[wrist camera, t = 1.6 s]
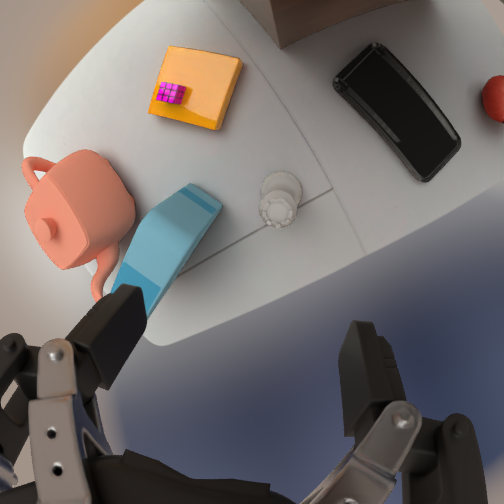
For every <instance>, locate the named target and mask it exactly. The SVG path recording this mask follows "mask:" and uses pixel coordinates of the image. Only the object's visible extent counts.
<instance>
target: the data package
mask: <svg viewBox="0 0 504 504" xmlns="http://www.w3.org/2000/svg"><path fill="white" fill-rule="evenodd" d="M222 207H223V205H222V204H221V203H220V202H218V201H217V200H216V199H214V198H213V197H211V196H210V195H208V194H207V193H205V192H204V191H202V190H201V189H200V188H198V187H197V186H195V185H194V184H192V183H190V184H188V185H187V186H185V187H183V188H182V189H180V190H179V191H177V192H176V193H174V194H173V195H171V196H170V197H169V198H167V199H166V200H164V201H163V202H161V203H160V204H158V205H157V206H155V207H154V208H153V209H151V210H150V211H149V212H148V213H147V215H146V216H145V217H144V218H143V220H142V221H141V223H140V225H139V226H138V228H137V230H136V233H135V235H134V237H133V239H132V241H131V244H130V246H129V248H128V251H127V253H126V255H125V257H124V260H123V262H122V265H121V267H120V269H119V272H118V274H117V277H116V279H115V282H114V284H113V287H112V290H111V292H110V293H114V292H115V290H116V289H117V288H118V287H119V286H120V285H121V284H123V283H125V284H129V285H134V286H139V287H141V288H142V291H143V296H144V302H145V308H146V314H147V320H148V318H149V317H150V315H151V314H152V312H153V311H154V309H155V308H156V306H157V305H158V303H159V302H160V300H161V299H162V297H163V296H164V294H165V293H166V291H167V290H168V288H169V287H170V286H171V284H172V283H173V281H174V280H175V278H176V277H177V275H178V274H179V272H180V271H181V269H182V268H183V266H184V265H185V263H186V262H187V260H188V259H189V257H190V255H191V254H192V252H193V251H194V249H195V248H196V246H197V245H198V243H199V242H200V240H201V239H202V237H203V236H204V234H205V233H206V231H207V230H208V228H209V227H210V225H211V224H212V222H213V221H214V219H215V218H216V216H217V215H218V213H219V212H220V210H221V209H222Z"/></svg>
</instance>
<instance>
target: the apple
mask: <svg viewBox="0 0 504 504" xmlns="http://www.w3.org/2000/svg"><path fill="white" fill-rule="evenodd" d="M482 99H483V105H484V109H485V111H486V113H487V114H488V115H489V117H490V118H492V119H493V120H495V121H498V122H501V123H503V124H504V76H502V75H499V76H494V77H492V78H491V79H489V80H488V82H487V84H486V86H485V87H484V88H483V90H482Z"/></svg>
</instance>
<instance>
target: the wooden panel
mask: <svg viewBox="0 0 504 504" xmlns="http://www.w3.org/2000/svg"><path fill="white" fill-rule="evenodd" d="M239 1H240V2H241V3H242V4H243V5H244V6H245V8H246V9H247V10H248V11H249V12H250V13H251V14H252V15H253V17H254V18H255V19H256V20H257V21H258V22H259V24H260V25H261V26H262V27H263V28H264V30H265V31H266V32H267V33H268V35H269V36H270V37H271V38H272V40H273V41H274V42H275V43H276V45H277V46H278V47H279V49H282V48H284V47H286V46H288V45H290V44H292V43H294V42H296V41H298V40H300V39H302V38H304V37H306V36H308V35H311V34H313V33H315V32H317V31H319V30H322V29H324V28H326V27H329V26H331V25H334V24H336V23H338V22H341V21H344V20H346V19H349V18H351V17H354V16H357V15H360V14H363V13H366V12H368V11H372V10H375V9H378V8H381V7H384V6H388V5H391V4H395V3H399V2H402V1H406V0H239Z"/></svg>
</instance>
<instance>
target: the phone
mask: <svg viewBox="0 0 504 504" xmlns="http://www.w3.org/2000/svg"><path fill="white" fill-rule="evenodd" d="M333 86H334V89H335V90H336V91H337V92H338V93H339V94H340V95H341V96H342V97H343V98H344V99H345V100H346V101H347V102H348V103H350V104H351V105H352V106H353V107H354V108H355V109H356V110H357V111H358V112H359V114H360V115H361V116H362V117H363V118H364V119H365V120H366V121H367V122H368V123H369V124H370V125H371V126H372V127H373V128H374V129H375V130H376V131H377V132H378V134H379V135H380V136H381V137H382V138H383V139H384V140H385V141H386V143H387V144H388V145H389V146H390V147H391V148H392V149H393V151H394V152H395V153H396V154H397V155H398V157H399V158H400V159H401V160H402V162H403V163H404V164H405V165H406V167H407V168H408V169H409V170H410V172H411V173H412V174H413V176H414V177H415V178H416V179H418V180H419V181H421V182H429V181H430V180H431V179H432V178H433V177H434V176H435V175H436V174H437V173H438V172H439V171H440V170H441V169H442V168H443V167H444V166H445V165H446V163H447V162H448V161H449V160H450V159H451V158H452V157H453V156H454V155H455V154H456V153H457V152H458V151H459V149H460V147H461V139H460V137H459V135H458V133H457V132H456V130H455V129H454V127H453V126H452V125H451V123H450V122H449V120H448V119H447V117H446V116H445V115H444V113H443V112H442V111H441V109H440V108H439V107H438V105H437V104H436V103H435V101H434V100H433V99H432V98H431V96H430V95H429V94H428V93H427V91H426V90H425V89H424V88H423V87H422V86H421V84H420V83H419V82H418V81H417V80H416V79H415V77H414V76H413V75H412V74H411V73H410V72H409V71H408V70H407V69H406V68H405V66H404V65H403V64H402V63H401V62H400V61H399V60H398V59H397V58H396V57H395V56H394V55H393V54H392V53H391V52H390V51H389V50H388V49H387V48H386V47H385V46H383V45H382V44H380V43H372V44H370V45H369V46H368V47H367V48H365V49H364V50H363V51H362V52H361V53H360V54H359V55H358V56H357V57H356V58H355V59H353V60H352V61H351V62H350V63H349V64H348V65H347V66H346V67H345V68H344V69H343V70H342V71H341V72H340V73H339V74H338V75H337V76H336V77H335V78H334V80H333Z"/></svg>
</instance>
